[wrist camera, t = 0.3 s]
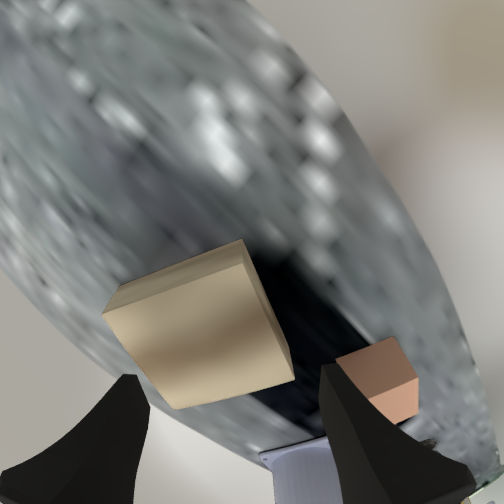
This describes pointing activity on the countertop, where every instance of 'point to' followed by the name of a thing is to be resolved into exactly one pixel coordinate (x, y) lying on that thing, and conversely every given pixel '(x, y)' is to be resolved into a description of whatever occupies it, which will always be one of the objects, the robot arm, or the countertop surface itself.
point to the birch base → (202, 328)
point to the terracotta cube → (384, 378)
